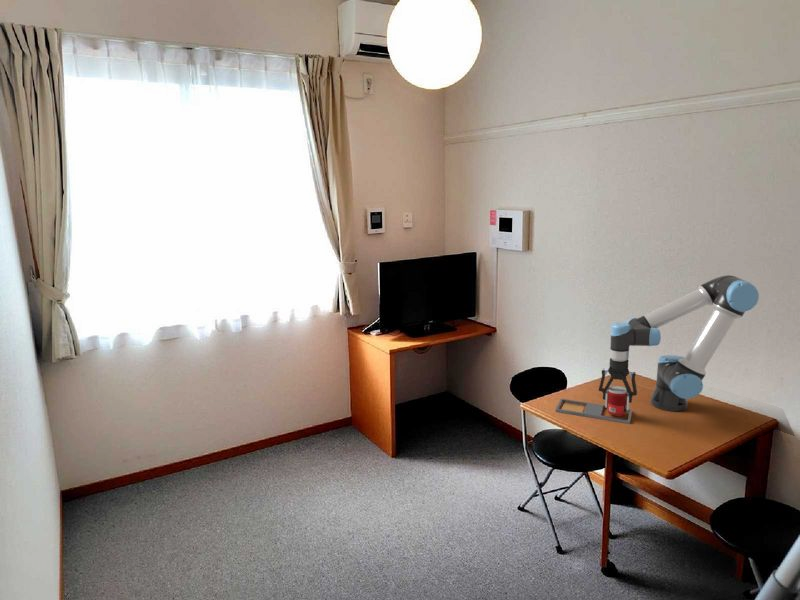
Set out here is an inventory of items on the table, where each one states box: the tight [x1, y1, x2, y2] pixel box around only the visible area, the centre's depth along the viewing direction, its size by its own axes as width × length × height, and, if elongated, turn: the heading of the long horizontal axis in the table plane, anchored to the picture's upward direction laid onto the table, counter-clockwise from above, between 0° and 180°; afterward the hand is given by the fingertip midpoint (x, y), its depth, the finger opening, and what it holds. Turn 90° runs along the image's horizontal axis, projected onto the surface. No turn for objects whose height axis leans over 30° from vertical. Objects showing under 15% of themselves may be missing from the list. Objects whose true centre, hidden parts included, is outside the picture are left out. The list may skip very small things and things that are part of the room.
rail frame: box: [555, 398, 633, 425], centre depth 245 cm, size 31×13×1 cm, turn 64°
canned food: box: [606, 385, 628, 417], centre depth 240 cm, size 8×8×11 cm
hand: (616, 407), depth 241 cm, fingers closed on canned food, 8 cm apart
